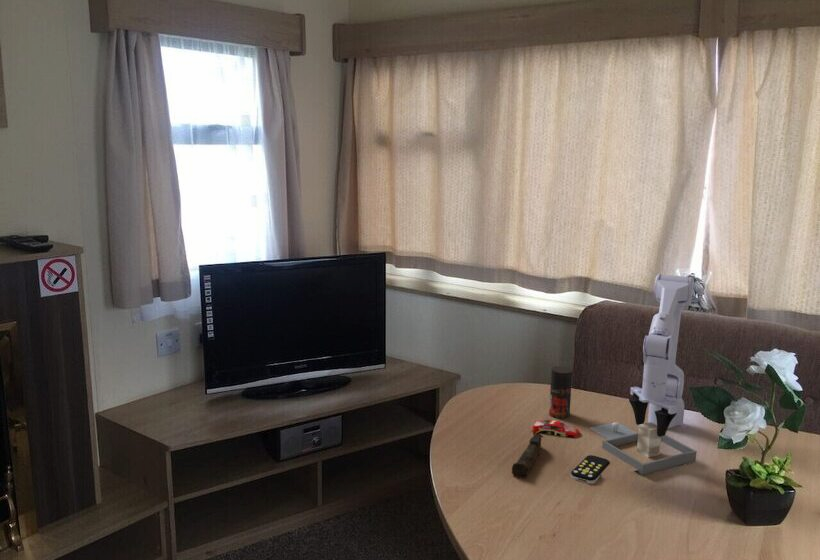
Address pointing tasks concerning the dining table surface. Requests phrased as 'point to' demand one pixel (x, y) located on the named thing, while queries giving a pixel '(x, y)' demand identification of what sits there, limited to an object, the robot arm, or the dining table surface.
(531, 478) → the dining table surface
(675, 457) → the bin
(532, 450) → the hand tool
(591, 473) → the remote control
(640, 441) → the beige block
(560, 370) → the deodorant
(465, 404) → the dining table surface
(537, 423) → the race car
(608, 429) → the stud plate
